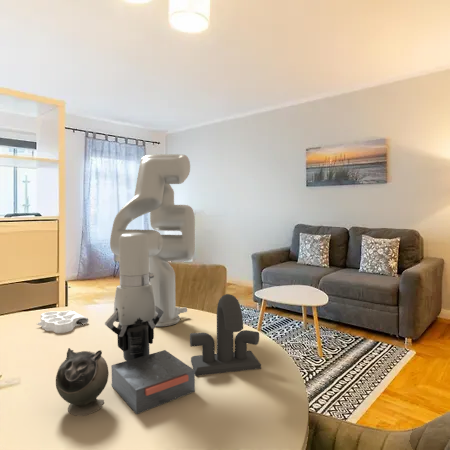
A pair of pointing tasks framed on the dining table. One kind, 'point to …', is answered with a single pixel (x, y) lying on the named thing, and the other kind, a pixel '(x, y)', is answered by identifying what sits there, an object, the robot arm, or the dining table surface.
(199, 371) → the faucet
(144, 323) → the supplement bottle
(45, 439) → the dining table surface
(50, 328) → the white flat holed piece
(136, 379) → the stand
